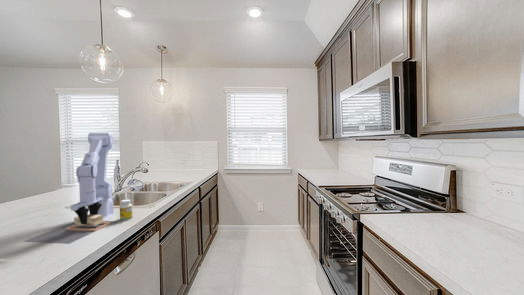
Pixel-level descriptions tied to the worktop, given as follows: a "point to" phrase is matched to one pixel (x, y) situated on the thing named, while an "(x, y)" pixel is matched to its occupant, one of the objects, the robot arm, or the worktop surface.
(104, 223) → the terracotta frame
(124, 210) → the supplement bottle
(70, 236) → the rubber mat
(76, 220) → the cream long block
